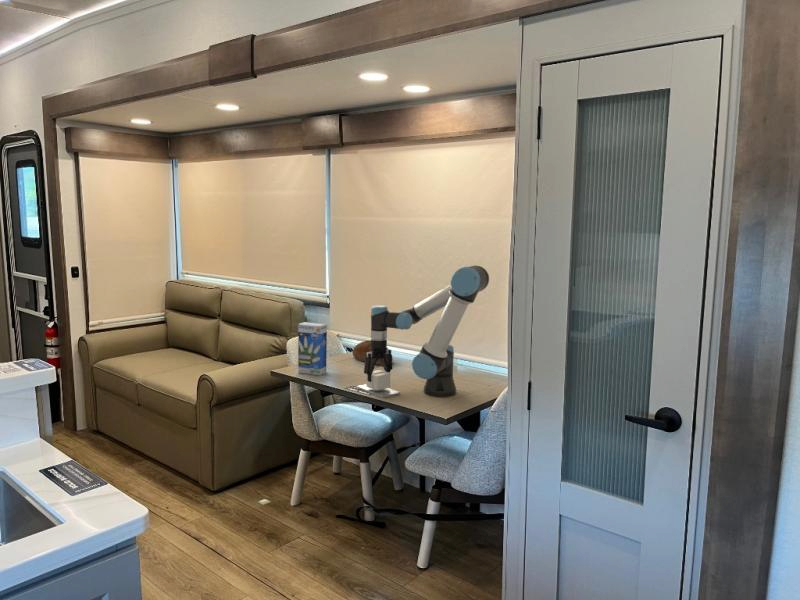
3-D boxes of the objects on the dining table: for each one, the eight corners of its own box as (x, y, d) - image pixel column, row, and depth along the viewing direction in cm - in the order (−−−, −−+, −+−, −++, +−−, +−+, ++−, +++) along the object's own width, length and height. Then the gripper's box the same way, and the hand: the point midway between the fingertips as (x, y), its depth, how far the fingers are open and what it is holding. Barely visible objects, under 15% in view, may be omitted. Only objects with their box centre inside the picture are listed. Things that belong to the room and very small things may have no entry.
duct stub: (400, 394, 278) (400, 381, 277) (383, 398, 271) (383, 385, 270) (373, 384, 292) (373, 372, 292) (356, 388, 286) (356, 375, 285)
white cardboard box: (379, 383, 287) (379, 369, 286) (390, 387, 281) (390, 372, 280) (366, 386, 282) (366, 371, 281) (376, 390, 276) (376, 375, 275)
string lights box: (297, 372, 312) (297, 323, 308) (305, 369, 319) (304, 321, 315) (320, 375, 307) (320, 326, 304) (327, 372, 314) (327, 323, 311)
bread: (377, 368, 325) (377, 347, 324) (345, 357, 347) (345, 338, 346) (399, 364, 335) (399, 344, 334) (367, 354, 357) (367, 335, 356)
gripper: (390, 335, 288) (390, 381, 291) (355, 340, 274) (355, 388, 278) (401, 337, 282) (400, 384, 285) (365, 343, 269) (365, 392, 272)
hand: (378, 386), depth 281 cm, fingers closed on white cardboard box, 8 cm apart
